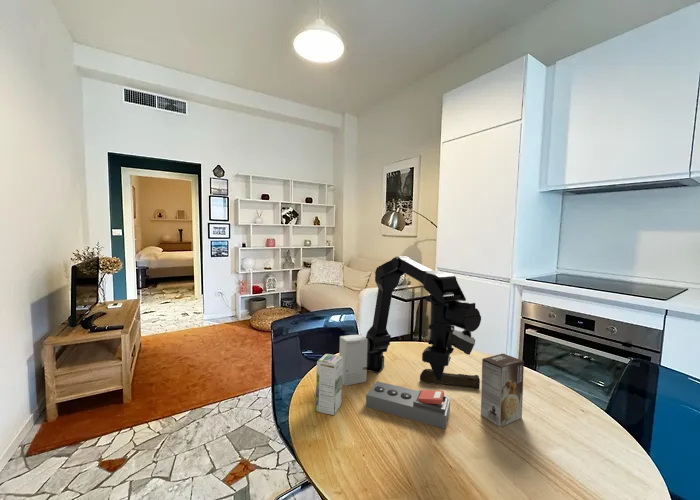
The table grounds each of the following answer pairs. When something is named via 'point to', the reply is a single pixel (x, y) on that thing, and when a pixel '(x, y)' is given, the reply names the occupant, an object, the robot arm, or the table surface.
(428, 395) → the red flat block
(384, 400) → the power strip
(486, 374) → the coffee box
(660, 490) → the table surface
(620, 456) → the table surface
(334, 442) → the table surface
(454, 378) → the hand tool
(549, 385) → the table surface
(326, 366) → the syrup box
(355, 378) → the skincare box
